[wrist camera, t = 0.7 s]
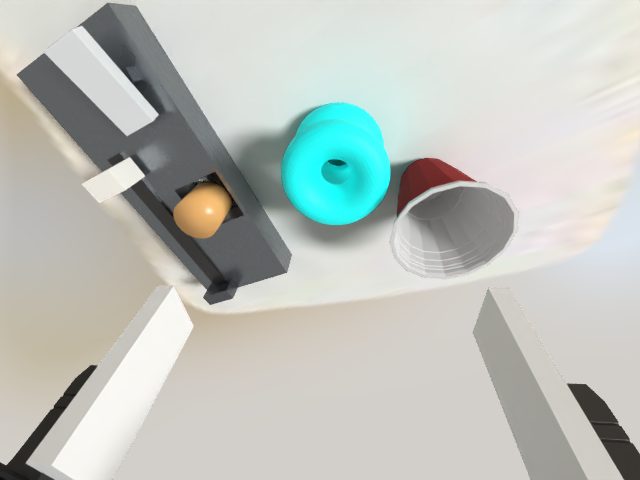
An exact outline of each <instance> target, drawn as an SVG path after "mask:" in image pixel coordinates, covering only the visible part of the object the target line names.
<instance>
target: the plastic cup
mask: <svg viewBox="0 0 640 480" xmlns="http://www.w3.org/2000/svg"><path fill="white" fill-rule="evenodd" d="M518 216H519V211H518V209H517V208H516V206H515V204H514V203H513V201H512V199H511V198H510V196H509V194H507V193H505V192H503V191H501V190H499V189H497V188H495V187H493V186H491V185H489V184H487V183H485V182H477V181H475V180H473V179H472V178H470V177H468V176H467V175H465V174H464V173H462V172H461V171H459V170H458V169H456V168H454V167H452V166H450V165H448V164H447V163H445V162H443V161H441V160H439V159H433V158H425V159H421V160H418V161H416V162H414V163H413V164H411V165H410V166H409V167H408V168H407V169H406V171H405V172H404V174H403V176H402V178H401V183H400V191H399V195H398V208H397V218H396V219H395V221H394V226H393V230H392V234H391V238H390V245H391V249H392V252H393V256H394V259H395V260H396V261H397V262H398V263H399V264H400V265H401V266H402V267H403V268H404V269H405V270H406V271H409V272H411V273H414V274H416V275H419V276H421V277H424V278H439V279H447V278H452V277H457V276H463V275H468V274H470V273H472V272H474V271H476V270H478V269H481V268H483V267H485V266H487V265H489V264H490V263H491V262H493V261H494V260H495V259H496V258H497V257H499V256H500V255H501V254H502V253H503V252H504V251H506V250H507V248H508V247H509V245H510V243H511V241H512V240H513V238H514V236H515V235H516V233H517V231H518Z"/></svg>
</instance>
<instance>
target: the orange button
mask: <svg viewBox="0 0 640 480" xmlns="http://www.w3.org/2000/svg"><path fill="white" fill-rule="evenodd" d="M231 208H232V199H231V197H230V195H229V193H228V192H227V190H226V189H225V188H224V187H222V186H221V185H219V184H217V183H214V182H210V181H205V182H201V183H199V184H198V185H196V186H195V187H194V188H193V189H192V190H191V191H190V192H189V193H188V194H187V195H186V196H185V197H184V198H183V199H182V200H181V201H180V202H179V203H178V204H177V205H176V207H175V209H174V212H173V216H174V220H175V222H176V224H177V226H178V227H179V228H180V229H181V230H182V231H183V232H184V233H186V234H188V235H190V236H192V237H195V238H201V239H203V238H208V237H211V236H212V235H214V234H215V232H216V231H217V229H218V228H219V226H220V225H221V223H222V222H223V220H224V219H225V217H226V216H227V215H228V213H229V212H230V210H231Z"/></svg>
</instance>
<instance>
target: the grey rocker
mask: <svg viewBox="0 0 640 480" xmlns="http://www.w3.org/2000/svg"><path fill="white" fill-rule="evenodd" d="M44 53H45V54H46V55H47V56H48V57H49V58H50V59H51V60H52V61H53V62H54V63H55V64H56V65H57V66H58V67H59V68H60V69H61V70H62V71H63V72H64V73H65V74H66V75H67V76H68V77H69V78H70V79H71V80H72V81H73V82H74V83H75V84H76V85H77V86H78V87H79V88H80V89H81V90H82V91H83V92H84V93H85V94H86V95H87V96H88V97H89V98H90V99H91V100H92V101H93V102H94V103H95V104H96V105H97V107H98V108H99V109H100V110H101V111H102V112H103V113H104V114H105V115H106V116H107V117H108V118H109V119H110V120H111V121H112V122H113V123H114V124H115V125H116V126H117V127H118V128H119V129H120V130H121V131H122V132H123V133H124V134H125V135H126V136H128V135H130V134H132V133H133V132H135V131H137V130H139V129H140V128H142V127H144V126H146V125H147V124H149V123H151V122H153V121H154V120H155V118H156V117H157V116H158V115H159V114H158V113H157V112H156V111H155V110H154V108H153V107H152V106H151V105H150V104H149V103H148V101H147V100H146V99H145V98H144V97H143V96H142V94H141V93H140V92H139V91H138V90H137V89H136V88H135V86H134V85H133V84H132V83H131V82H130V81H129V79H128V78H127V77H126V76H125V75H124V74H123V72H122V71H121V70H120V69H119V68H118V67H117V65H116V64H115V63H114V62H113V61H112V60H111V59H110V57H109V56H108V55H107V54H106V53H105V52H104V50H103V49H102V48H101V47H100V46H99V45H98V43H97V42H96V41H95V40H94V39H93V38H92V36H91V35H90V34H89V33H88V32H87V31H86V30H85V28H84V27H83V26H80V27H77V28H75V29H72V30H70V31H69V32H68V33H67V34H65V35H64V36H63V37H62V38H60V39H59V40H58V41H57V42H55V43H54V44H53V45H51V46H50V47H49V48H48V49H46V50H45V51H44Z"/></svg>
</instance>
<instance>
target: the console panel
mask: <svg viewBox="0 0 640 480" xmlns="http://www.w3.org/2000/svg"><path fill="white" fill-rule="evenodd" d="M80 26H83V27H84V28H85V30H86V31H87V32H88V33H89V34H90V35H91V36H92V38H93V39H94V40H95V41H96V42H97V43H98V45H99V46H100V47H101V48H102V49H103V50H104V52H105V53H106V54H107V55H108V56H109V57H110V59H111V60H112V61H113V62H114V63H115V64H116V65H117V67H118V68H119V69H120V70H121V71H122V72H123V74H124V75H125V76H126V77H127V78H128V79H129V81H130V82H131V83H132V84H133V85H134V86H135V88H136V89H137V90H138V91H139V92H140V93H141V94H142V96H143V97H144V98H145V99H146V100H147V101H148V103H149V104H150V105H151V106H152V107H153V108H154V110H155V111H156V112H157V113H158V114H159V115H158V116H157V117H156V118H155V120H154V121H153V122H151V123H149V124H147V125H146V126H144V127H142V128H140V129H139V130H137V131H135V132H133V133H132V134H130V135H128V136H126V135H125V134H124V133H123V132H122V131H121V130H120V129H119V128H118V127H117V126H116V125H115V124H114V123H113V122H112V121H111V120H110V119H109V118H108V117H107V116H106V115H105V114H104V113H103V112H102V111H101V110H100V109H99V108H98V107H97V105H96V104H95V103H94V102H93V101H92V100H91V99H90V98H89V97H88V96H87V95H86V94H85V93H84V92H83V91H82V90H81V89H80V88H79V87H78V86H77V85H76V84H75V83H74V82H73V81H72V80H71V79H70V78H69V77H68V76H67V75H66V74H65V73H64V72H63V71H62V70H61V69H60V68H59V67H58V66H57V65H56V64H55V63H54V62H53V61H52V60H51V59H50V58H49V57H48V56H47V55H46V54H45V53H44V54H42V55H41V56H40V57H38V58H37V59H36V60H35V61H33V62H32V63H31V64H30V65H28V66H27V67H26V68H24V69H23V70H22V71H21V72H19V73H18V74H17V76H18V77H19V78H20V79H21V80H22V81H23V83H24V84H25V85H26V86H27V87H28V88H29V89H30V90H31V92H32V93H33V94H34V95H35V96H36V97H37V98H38V100H39V101H40V102H41V103H42V104H43V105H44V106H45V107H46V109H47V110H48V111H49V112H50V113H51V114H52V115H53V116H54V118H55V119H56V120H57V121H58V122H59V123H60V124H61V126H62V127H63V128H64V129H65V130H66V131H67V132H68V133H69V135H70V136H71V137H72V138H73V139H74V140H75V141H76V142H77V144H78V145H79V146H80V147H81V148H82V149H83V150H84V152H85V153H86V154H87V155H88V156H89V157H90V158H91V159H92V161H93V162H94V163H95V164H96V165H97V166H98V167H99V168H100V170H101V171H102V172H103V171H105V170H107V169H109V168H110V167H112V166H114V165H116V164H118V163H120V162H122V161H123V160H125V159H127V158H129V157H130V158H131V159H132V160H133V161H134V163H135V164H136V165H137V166H138V168H139V169H140V170H141V171H142V173H143V174H144V175H145V177H144V178H142V179H141V180H139V181H138V182H137V183H135V184H134V185H132V186H131V187H129V188H128V189H127V190H125V191H123V192H121V193H122V194H123V196H124V197H125V198H126V199H127V200H128V201H129V202H130V204H131V205H132V206H133V207H134V208H135V209H136V210H137V211H138V213H139V214H140V215H141V216H142V217H143V218H144V219H145V220H146V222H147V223H148V224H149V225H150V226H151V227H152V228H153V229H154V231H155V232H156V233H157V234H158V235H159V236H160V237H161V239H162V240H163V241H164V242H165V243H166V244H167V245H168V246H169V248H170V249H171V250H172V251H173V252H174V253H175V254H176V255H177V257H178V258H179V259H180V260H181V261H182V262H183V263H184V265H185V266H186V267H187V268H188V269H189V270H190V271H191V272H192V274H193V275H194V276H195V277H196V278H197V279H198V280H199V281H200V283H201V284H202V285H203V286H204V287H205V288H206V289H207V291H206V293H205V295H204V297H203V298H204V299H205V300H206V301H207V302H208V303H209V304H210V305H211V304H215V303H218V302H222V301H225V300H229V299H232V298H233V297H234V295H235V292H236V290H237V288H238V287H241V286H244V285H248V284H251V283H254V282H258V281H261V280H264V279H268V278H271V277H274V276H278V275H281V274H284V273H287V271H288V267H289V263H290V260H291V256H292V254H291V253H290V251H289V249H288V248H287V246H286V245H285V243H284V241H283V240H282V238H281V237H280V235H279V233H278V232H277V230H276V229H275V227H274V226H273V224H272V222H271V221H270V219H269V218H268V216H267V214H266V213H265V211H264V210H263V208H262V206H261V205H260V203H259V202H258V200H257V198H256V197H255V195H254V194H253V192H252V190H251V189H250V187H249V186H248V184H247V182H246V181H245V179H244V178H243V176H242V174H241V173H240V171H239V170H238V168H237V166H236V165H235V163H234V162H233V160H232V158H231V157H230V155H229V154H228V152H227V150H226V149H225V147H224V146H223V144H222V142H221V141H220V139H219V138H218V136H217V134H216V133H215V131H214V130H213V128H212V127H211V125H210V123H209V122H208V120H207V119H206V117H205V115H204V114H203V112H202V111H201V109H200V107H199V106H198V104H197V103H196V101H195V99H194V98H193V96H192V95H191V93H190V91H189V90H188V88H187V87H186V85H185V83H184V82H183V80H182V79H181V77H180V75H179V74H178V72H177V71H176V69H175V67H174V66H173V64H172V63H171V61H170V59H169V58H168V56H167V55H166V53H165V51H164V50H163V48H162V47H161V45H160V43H159V42H158V40H157V39H156V37H155V36H154V34H153V32H152V31H151V29H150V28H149V26H148V24H147V23H146V21H145V20H144V18H143V16H142V15H141V13H140V12H139V10H138V8H137V7H136V6H132V5H123V4H114V3H107V4H106V5H104V6H103V7H102V8H101V9H99V10H98V11H97V12H96V13H94V14H93V15H92V16H90V17H89V18H88V19H87V20H85V21H84V22H83V23H82V24H80V25H79V26H78V27H80ZM213 172H216V174H217V175H218V177H219V178H220V180H221V181H222V182H223V184H224V185H225V187H226V188H227V190H228V191H229V193H230V194H231V196H232V197H233V199H234V200H235V202H236V203H237V205H238V206H237V207H234V208H232V209H231V210H230V212H229V213H228V215H227V216H226V217H225V219H224V220H223V222H222V223H221V225H220V226H219V228H218V229H217V231H216V232H215V234H214V235H212V236H211V237H208V238H203V239H201V238H195V237H192V236H190V235H188V234H186V233H184V232H183V231H182V230H181V229H180V228H179V227H178V226H177V224H176V222H175V220H174V216H173V212H174V209H175V207H176V205H177V204H178V203H179V202H180V201H181V200H182V199H183V198H184V197H185V196H186V195H187V194H188V193H189V192H190V191H191V190H192V189H193V188H194V187H195V186H196V185H195V183H194V181H196V180H198V179H200V178H202V177H205V176H207V175H209V174H211V173H213Z"/></svg>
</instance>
